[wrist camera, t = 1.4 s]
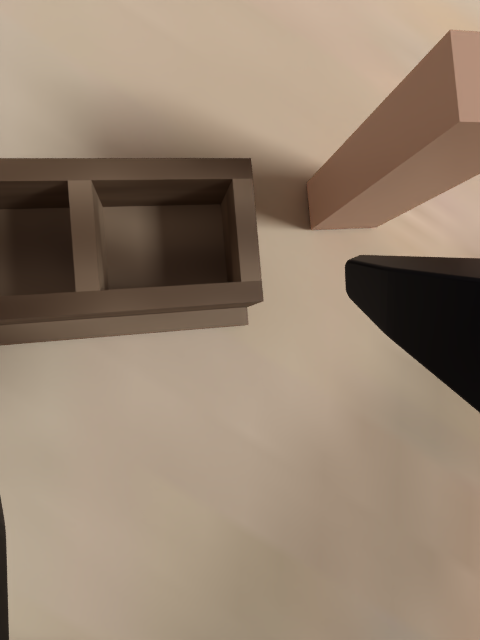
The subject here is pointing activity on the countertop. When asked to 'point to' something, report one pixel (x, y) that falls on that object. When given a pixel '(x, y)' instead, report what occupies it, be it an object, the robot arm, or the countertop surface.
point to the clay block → (407, 143)
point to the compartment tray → (125, 246)
